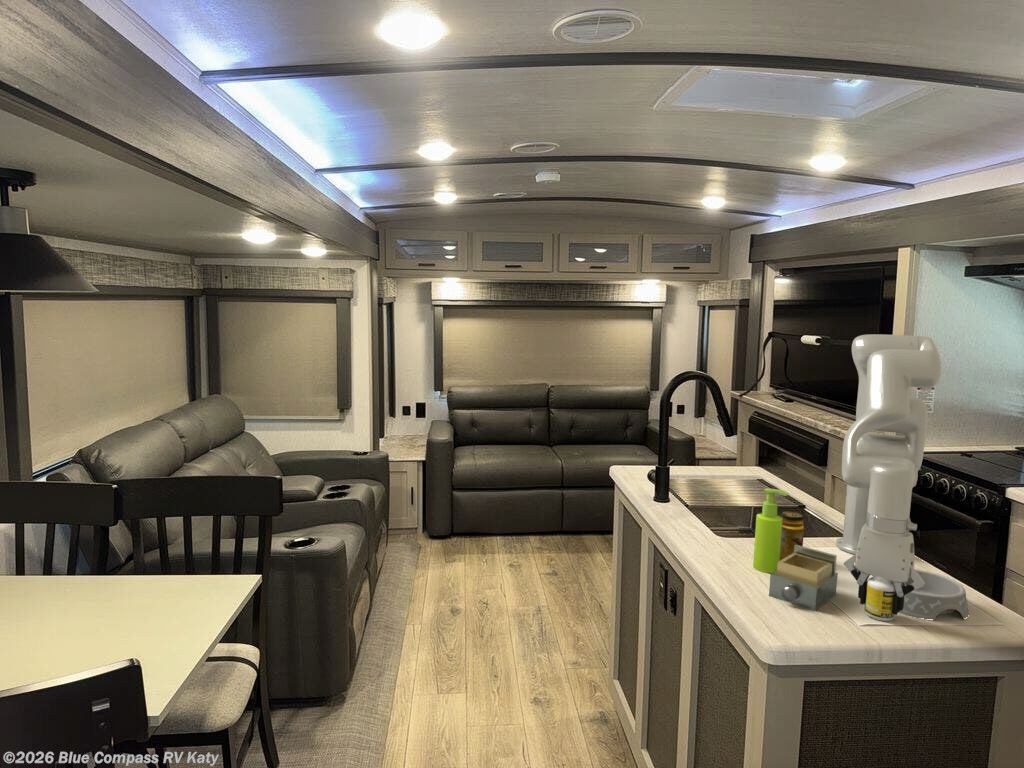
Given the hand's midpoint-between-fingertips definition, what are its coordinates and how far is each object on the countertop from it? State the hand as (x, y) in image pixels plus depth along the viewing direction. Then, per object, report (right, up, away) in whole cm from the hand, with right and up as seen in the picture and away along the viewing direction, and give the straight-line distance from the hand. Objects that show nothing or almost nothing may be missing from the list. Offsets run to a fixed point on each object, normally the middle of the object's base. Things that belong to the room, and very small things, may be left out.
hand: (879, 606), depth 136 cm
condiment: (-7, +1, +31) cm, 32 cm away
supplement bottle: (0, -2, 0) cm, 2 cm away
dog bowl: (+13, -2, +7) cm, 15 cm away
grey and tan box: (-12, -1, +10) cm, 15 cm away
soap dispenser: (-14, +1, +24) cm, 28 cm away
